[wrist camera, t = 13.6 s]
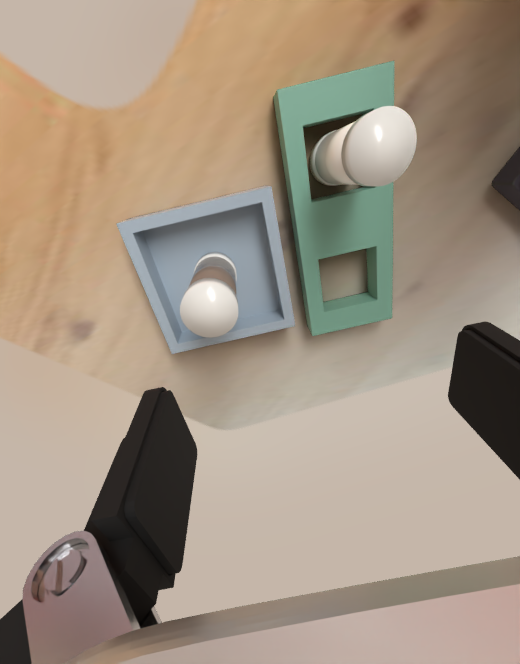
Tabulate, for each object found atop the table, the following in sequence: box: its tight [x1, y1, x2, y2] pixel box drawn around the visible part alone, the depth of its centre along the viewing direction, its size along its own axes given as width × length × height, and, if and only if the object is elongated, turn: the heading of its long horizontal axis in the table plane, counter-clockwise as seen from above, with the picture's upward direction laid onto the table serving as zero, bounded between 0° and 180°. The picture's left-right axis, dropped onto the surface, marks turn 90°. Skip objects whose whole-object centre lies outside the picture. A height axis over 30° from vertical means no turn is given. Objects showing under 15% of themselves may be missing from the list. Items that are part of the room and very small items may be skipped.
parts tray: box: [117, 186, 295, 354], centre depth 29 cm, size 13×13×4 cm
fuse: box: [310, 106, 417, 186], centre depth 22 cm, size 4×4×10 cm
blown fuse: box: [180, 252, 238, 338], centre depth 26 cm, size 4×4×10 cm
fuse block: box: [273, 61, 394, 336], centre depth 28 cm, size 22×9×2 cm, turn 12°
